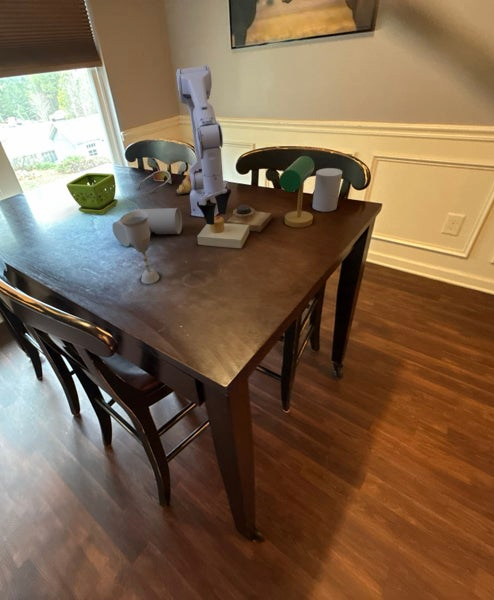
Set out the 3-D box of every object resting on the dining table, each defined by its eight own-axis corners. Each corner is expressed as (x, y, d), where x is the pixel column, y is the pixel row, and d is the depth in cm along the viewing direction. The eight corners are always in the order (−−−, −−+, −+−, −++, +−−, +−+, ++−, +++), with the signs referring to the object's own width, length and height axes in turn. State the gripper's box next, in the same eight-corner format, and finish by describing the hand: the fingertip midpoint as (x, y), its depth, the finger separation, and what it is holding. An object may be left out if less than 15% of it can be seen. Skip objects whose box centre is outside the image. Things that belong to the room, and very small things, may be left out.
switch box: (227, 226, 106) (226, 215, 104) (239, 215, 113) (239, 204, 110) (260, 232, 101) (260, 220, 98) (271, 219, 107) (271, 208, 105)
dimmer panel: (198, 244, 98) (197, 235, 96) (208, 230, 106) (208, 221, 104) (241, 248, 94) (240, 239, 92) (249, 233, 101) (249, 224, 99)
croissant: (184, 204, 134) (188, 190, 128) (167, 191, 136) (170, 175, 130) (214, 187, 146) (219, 173, 139) (199, 175, 148) (203, 160, 141)
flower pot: (76, 215, 129) (64, 184, 121) (97, 202, 138) (87, 172, 130) (103, 217, 124) (93, 185, 116) (123, 203, 133) (114, 173, 126)
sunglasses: (178, 182, 147) (175, 172, 144) (155, 197, 141) (152, 187, 137) (158, 178, 155) (155, 168, 152) (136, 192, 149) (132, 182, 145)
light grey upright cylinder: (337, 211, 107) (343, 175, 99) (313, 211, 109) (317, 176, 101) (335, 202, 113) (340, 167, 105) (311, 202, 115) (315, 168, 107)
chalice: (139, 272, 89) (122, 213, 78) (162, 269, 89) (148, 209, 78) (136, 287, 83) (117, 225, 72) (162, 284, 83) (147, 221, 72)
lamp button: (235, 214, 105) (234, 209, 104) (240, 209, 108) (240, 204, 107) (247, 215, 103) (246, 210, 102) (252, 210, 106) (252, 205, 105)
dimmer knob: (221, 233, 96) (221, 222, 94) (208, 232, 98) (207, 221, 95) (226, 227, 99) (225, 215, 97) (213, 226, 101) (212, 215, 98)
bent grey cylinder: (154, 215, 117) (111, 238, 105) (153, 189, 109) (106, 210, 98) (190, 235, 110) (147, 261, 98) (191, 208, 102) (145, 234, 91)
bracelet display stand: (277, 228, 102) (279, 169, 90) (291, 211, 111) (295, 155, 99) (305, 232, 97) (312, 171, 86) (317, 214, 106) (324, 156, 95)
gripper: (212, 183, 81) (216, 230, 90) (236, 166, 91) (238, 210, 99) (189, 181, 84) (195, 227, 93) (215, 164, 94) (218, 208, 102)
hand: (216, 218), depth 96 cm, fingers open, 7 cm apart
